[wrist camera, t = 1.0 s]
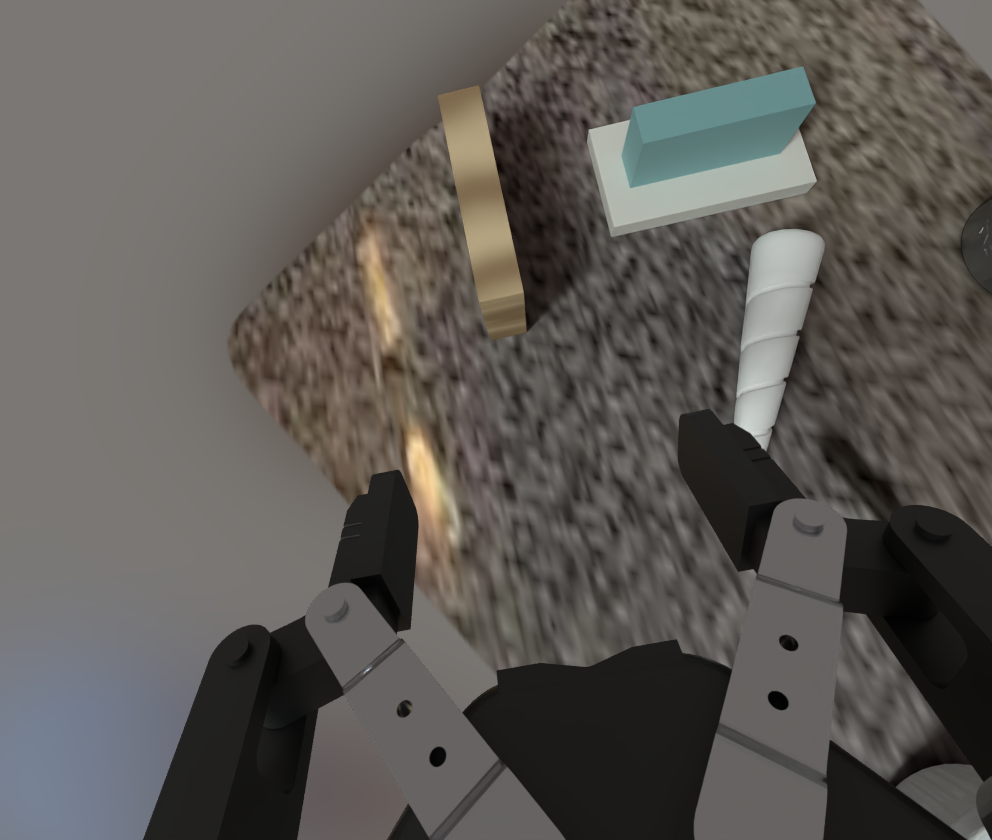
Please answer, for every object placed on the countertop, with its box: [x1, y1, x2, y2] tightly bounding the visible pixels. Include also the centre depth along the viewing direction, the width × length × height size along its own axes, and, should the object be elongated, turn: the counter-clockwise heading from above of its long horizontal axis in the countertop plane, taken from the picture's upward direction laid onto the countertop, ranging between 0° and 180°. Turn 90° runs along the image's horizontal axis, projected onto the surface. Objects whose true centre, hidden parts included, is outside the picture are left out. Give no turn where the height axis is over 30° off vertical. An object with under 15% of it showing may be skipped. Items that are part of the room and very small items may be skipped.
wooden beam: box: [438, 85, 527, 340], centre depth 37 cm, size 16×3×8 cm, turn 11°
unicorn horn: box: [734, 229, 825, 451], centre depth 35 cm, size 5×24×5 cm, turn 164°
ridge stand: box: [587, 67, 817, 237], centre depth 37 cm, size 16×9×6 cm, turn 101°
